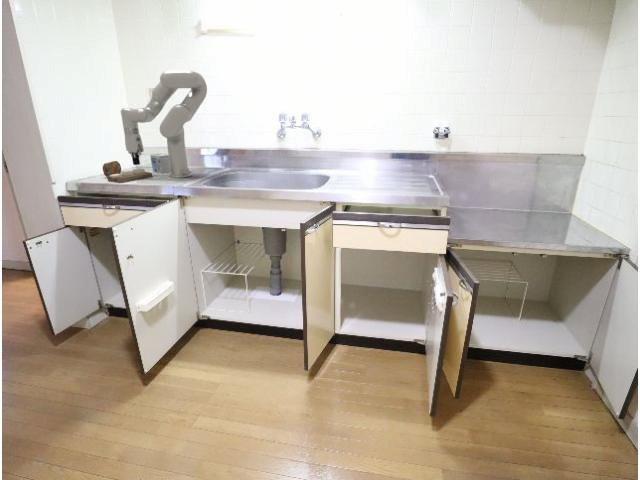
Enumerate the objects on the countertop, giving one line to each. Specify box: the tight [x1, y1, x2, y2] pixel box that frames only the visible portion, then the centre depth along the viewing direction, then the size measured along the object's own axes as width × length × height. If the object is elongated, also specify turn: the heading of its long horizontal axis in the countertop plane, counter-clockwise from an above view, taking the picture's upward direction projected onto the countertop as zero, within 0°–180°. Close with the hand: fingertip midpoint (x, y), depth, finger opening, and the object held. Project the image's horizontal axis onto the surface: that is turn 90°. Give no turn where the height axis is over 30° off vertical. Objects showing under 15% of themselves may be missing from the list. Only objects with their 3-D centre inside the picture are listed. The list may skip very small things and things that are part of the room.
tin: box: [102, 160, 122, 178], centre depth 213 cm, size 15×3×8 cm, turn 179°
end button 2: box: [132, 167, 146, 173], centre depth 210 cm, size 4×4×3 cm
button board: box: [106, 171, 153, 184], centre depth 204 cm, size 11×20×3 cm, turn 149°
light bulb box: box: [150, 153, 171, 174], centre depth 225 cm, size 11×7×11 cm, turn 56°
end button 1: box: [110, 173, 122, 177], centre depth 200 cm, size 4×4×3 cm
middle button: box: [121, 169, 134, 175], centre depth 205 cm, size 4×4×3 cm
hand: (136, 164), depth 209 cm, fingers closed
